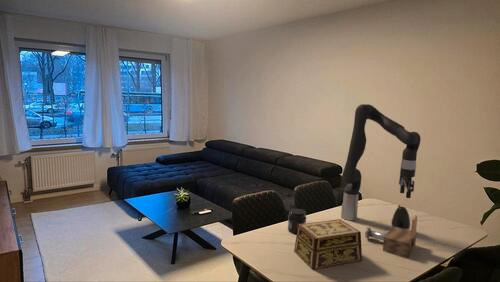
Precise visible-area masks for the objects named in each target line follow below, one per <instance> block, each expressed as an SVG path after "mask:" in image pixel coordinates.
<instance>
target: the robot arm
mask: <svg viewBox="0 0 500 282" xmlns="http://www.w3.org/2000/svg"><path fill="white" fill-rule="evenodd" d="M353 120H354V121H353V129H352V132H351V133H352V135H351V139H350V143H349V150H348V153H347V158H346V161H345V165H344V168H343V171H342V175H341V176H342V180H343V182H344V183H345V184H346V186H345V187H344V188H343V201H342V203H341V212H340V213H341V214H340V219H341V218H342V219H344V220H345V221H353V222H354V221H357V220H358V208H359V206H358V205H359V193H360V190H361V184H362V173H361V171H360V170H359V169H358V168H357V166H358V163H359V161H360V160H361V158H362V156H363V155H364V153H365V149H366V146H367V145H366V144H367V135H366V131H365V129H366V124H367V120H371V121H373V122H375V123H376V124H378V125H379V126H380V127H381V128H382V129H383V130H385V131H386V132H387V133H389V134H391V135H392V136H394V137H396V138H397V139H398V141H400V142H401V143H403V145H406V146H405V148H404V149H403V151H402V156H401V162H400V172H399V180H398V185H399V186H400V188H399V190H400V191H399V193H400V194H405V198H406V199H411V198H412V192H414V190H415V180H412V178H414V177H416V171H417V170H416V169H417V155H418V151H419V149H420V148H419V147H420V146H421V145H420V144H421V139H422V138H421V135H420V134H419V132H417V131H409V130H407V129H405V127H404V125H402V124H400V123H398V122H397V121H395V120H392V119H391V118H390V117H388V116H386V115H385V114H383V113H382V112H380V110H379V109H377V108H376V107H374V106H373V105H371V104H368V103H367V104H365V103H364V104H359V105H358V106H357V107H356V109H355V113H354V119H353ZM405 190H406V192H405Z"/></svg>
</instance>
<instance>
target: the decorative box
mask: <svg viewBox="0 0 500 282" xmlns="http://www.w3.org/2000/svg"><path fill="white" fill-rule="evenodd" d="M295 236H296V238H295V243H294V250H293V252H294V253H295V254H296V255H297V256H298V257H299V258H300V259H301V260H302V261H303V262H304V264H306V265H307V266H308V267H309V268H310V269H311V270H313V271H314V270H320V269H325V268H326V269H327V268H331V267H335V266H341V265H347V264H351V263H352V264H353V263H358V262H362V261H363V254H362V251H363V249H362V233H361V231H360V230H358V229H357V228H355V227H353V226H352V225H351V224H349V223H347V222H345V221H344V220H342V219H341V218H340V219H338V218H337V219H331V220H321V221H315V222H309V223H308V222H306V224H299V225H298V229H297V234H296V235H295Z"/></svg>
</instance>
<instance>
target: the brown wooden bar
mask: <svg viewBox="0 0 500 282" xmlns="http://www.w3.org/2000/svg"><path fill="white" fill-rule="evenodd" d="M386 234H387V233H383V232H379V231H375V230H372V228H371V227H369V226H368V227H366V229H365V234H364V235H365V239H369V238H373V239H377V240H381V241H384V236H385V235H386Z"/></svg>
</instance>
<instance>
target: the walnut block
mask: <svg viewBox="0 0 500 282" xmlns="http://www.w3.org/2000/svg"><path fill="white" fill-rule="evenodd" d="M385 234H386V235H385V236H384V241H383V240H382V241H383V242H382V243H383V244H382V251H383V252H385V253H386V252H387V253H389V254H392V255H397V256H401V257H403V258H407V259H408V258H409V257H410V255H411V253H412V252H413V251H414V248H415V246H416V242H417V233H416V234H415V236H414V237H413V239H411V229H409V230H406V229H402V228H398V227H394V226H393V227H392V226H391V228H390V229H389V230H388V231H387V232H386V233H385Z"/></svg>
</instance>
